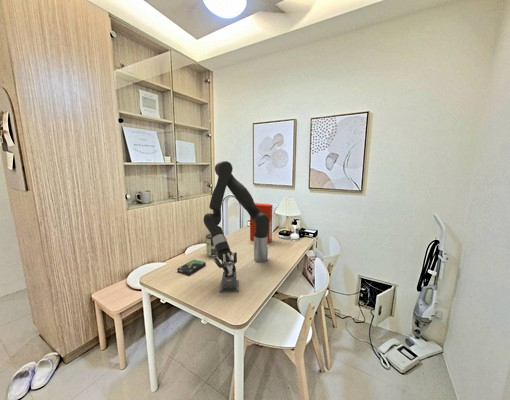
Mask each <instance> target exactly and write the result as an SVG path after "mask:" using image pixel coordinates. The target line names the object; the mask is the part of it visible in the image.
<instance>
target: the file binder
mask: <svg viewBox="0 0 510 400" xmlns="http://www.w3.org/2000/svg"><path fill="white" fill-rule="evenodd" d="M254 203H255V205H256V206H257V208H258V209H259V210H260V211H261V212H262V213H264V214H265V215H267V216H268V218H269V232H268V236H267V244H270V243H271V242H272V240H273V204H271V203H270V204H269V203H257V202H254ZM249 217H250V216H249ZM249 219H250V221H249V241H251V242H254V232H255V231H256V224H255V223H254V222H253V220H252V218H251V217H250V218H249Z"/></svg>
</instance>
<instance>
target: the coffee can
mask: <svg viewBox="0 0 510 400" xmlns="http://www.w3.org/2000/svg"><path fill="white" fill-rule="evenodd" d="M205 241H206V242H205V243H206V244H205V245H206V250H205V251H206V256H208V257H217V252H216V249H215V246H214V243H213V239H212V236H211V233H207V234H206V235H205Z"/></svg>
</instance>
